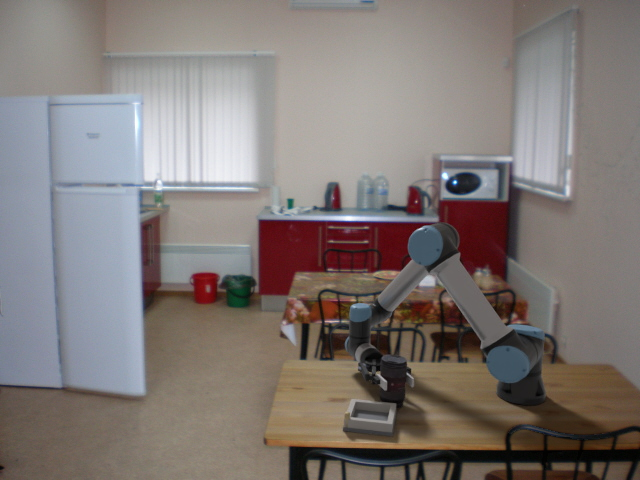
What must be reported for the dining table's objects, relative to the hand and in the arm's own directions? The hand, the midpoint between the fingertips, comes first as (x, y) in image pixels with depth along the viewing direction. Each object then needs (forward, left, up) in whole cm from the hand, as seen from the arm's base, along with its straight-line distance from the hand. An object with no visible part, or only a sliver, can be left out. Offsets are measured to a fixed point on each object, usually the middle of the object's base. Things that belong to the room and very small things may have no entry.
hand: (399, 384), depth 179 cm
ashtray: (+7, +9, -9) cm, 14 cm away
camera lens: (+2, -4, -9) cm, 10 cm away
